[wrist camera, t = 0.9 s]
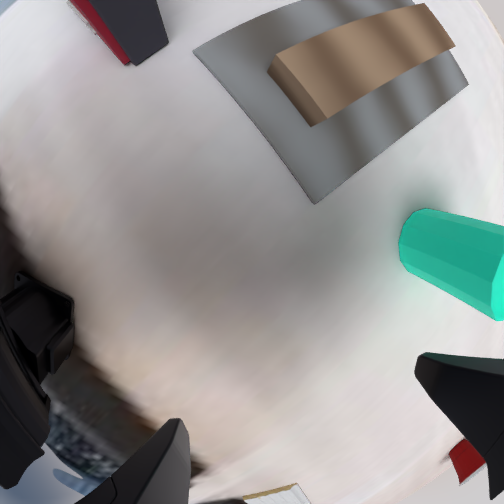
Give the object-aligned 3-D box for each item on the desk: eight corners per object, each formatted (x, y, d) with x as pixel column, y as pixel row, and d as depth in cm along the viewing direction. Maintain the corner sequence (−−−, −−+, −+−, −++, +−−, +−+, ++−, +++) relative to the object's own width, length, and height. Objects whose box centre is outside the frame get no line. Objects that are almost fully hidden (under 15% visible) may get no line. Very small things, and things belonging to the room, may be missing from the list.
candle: (424, 283, 22) (517, 339, 10) (387, 256, 21) (500, 316, 9) (450, 229, 21) (549, 262, 10) (417, 195, 20) (536, 217, 8)
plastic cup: (434, 462, 38) (455, 491, 27) (465, 432, 37) (489, 460, 25) (448, 459, 41) (467, 484, 29) (475, 431, 39) (497, 455, 28)
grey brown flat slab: (313, 204, 19) (332, 208, 16) (192, 52, 15) (189, 30, 12) (467, 84, 18) (487, 80, 14) (392, -19, 14) (407, -31, 11)
